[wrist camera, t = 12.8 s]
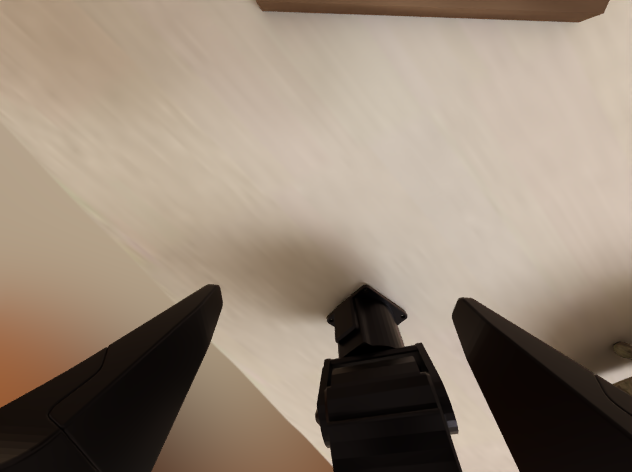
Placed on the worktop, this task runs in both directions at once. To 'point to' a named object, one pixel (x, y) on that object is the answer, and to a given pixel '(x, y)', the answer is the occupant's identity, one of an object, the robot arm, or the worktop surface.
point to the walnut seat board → (450, 8)
